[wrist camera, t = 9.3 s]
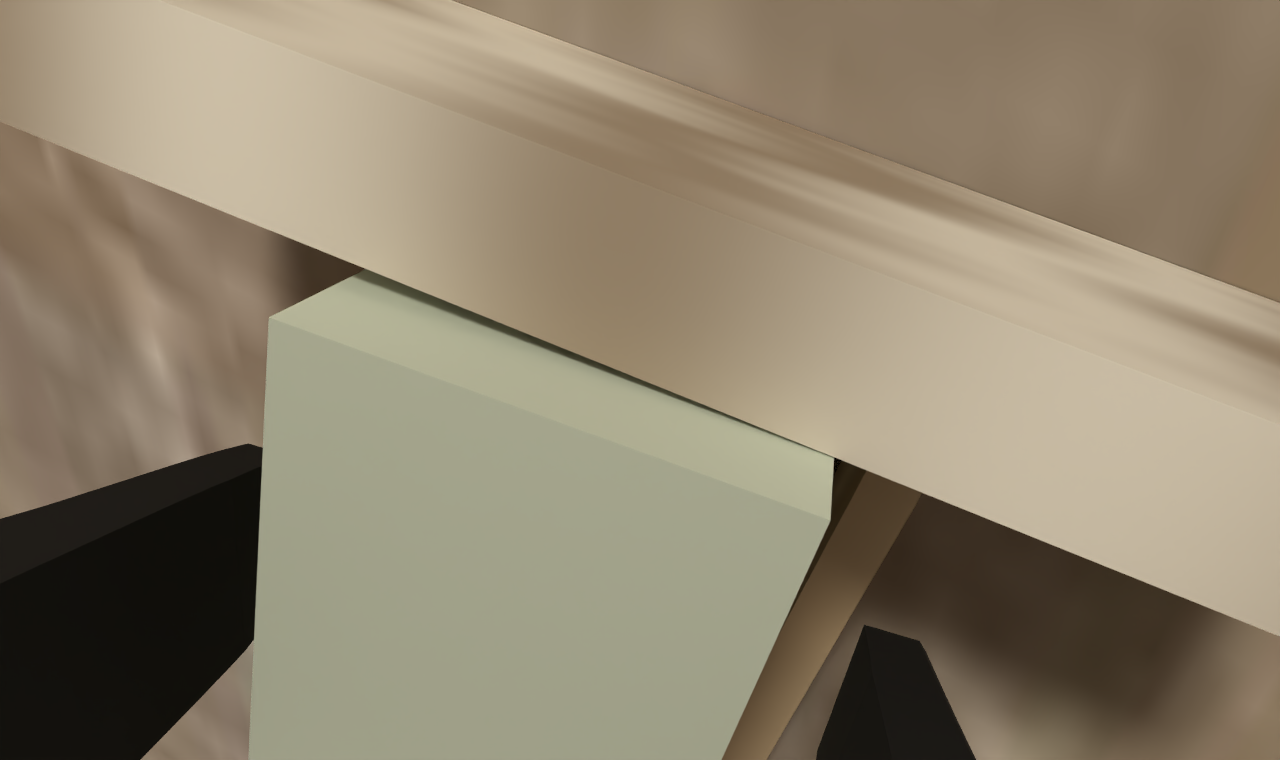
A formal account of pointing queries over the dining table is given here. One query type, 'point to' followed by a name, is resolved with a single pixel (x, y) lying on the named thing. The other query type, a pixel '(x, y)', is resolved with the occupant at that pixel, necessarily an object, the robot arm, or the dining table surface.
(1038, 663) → the dining table surface
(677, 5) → the dining table surface
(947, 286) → the wall board
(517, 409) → the cabinet block
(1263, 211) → the dining table surface
